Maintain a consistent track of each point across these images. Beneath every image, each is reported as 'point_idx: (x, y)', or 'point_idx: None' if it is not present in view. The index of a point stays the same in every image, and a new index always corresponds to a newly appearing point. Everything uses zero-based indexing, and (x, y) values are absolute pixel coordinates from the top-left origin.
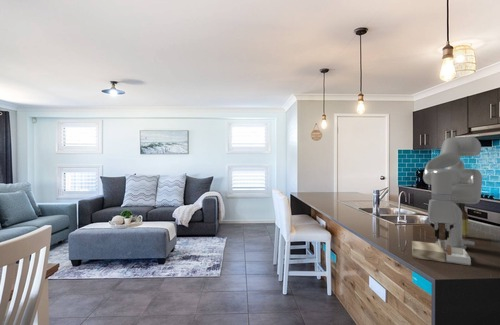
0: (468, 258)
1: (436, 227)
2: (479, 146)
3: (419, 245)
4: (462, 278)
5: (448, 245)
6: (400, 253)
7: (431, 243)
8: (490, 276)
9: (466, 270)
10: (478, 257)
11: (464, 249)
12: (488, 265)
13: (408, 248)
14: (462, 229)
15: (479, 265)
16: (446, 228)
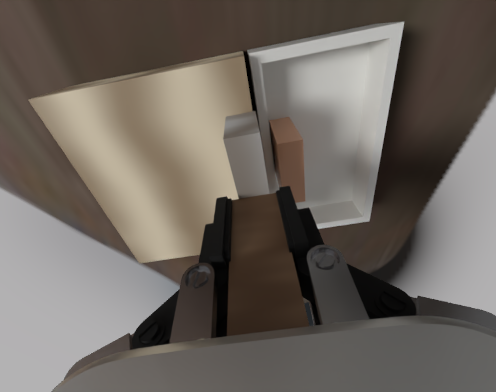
0: (359, 220)
1: (220, 329)
2: None
3: (136, 196)
4: (305, 302)
5: (293, 155)
6: (87, 208)
7: (173, 88)
8: (382, 260)
9: None
10: (460, 5)
11: (399, 42)
12: (434, 153)
13: (48, 83)
14: None
15: (392, 176)
16: (312, 315)
